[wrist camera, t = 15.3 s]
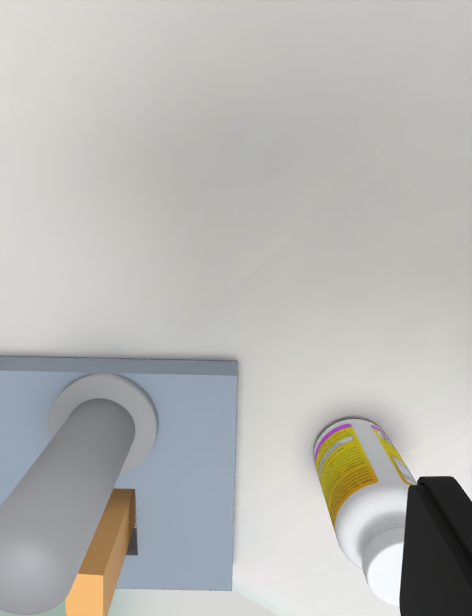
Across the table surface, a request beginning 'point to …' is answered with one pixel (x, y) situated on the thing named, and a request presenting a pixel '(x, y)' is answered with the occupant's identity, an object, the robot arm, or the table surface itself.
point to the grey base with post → (115, 472)
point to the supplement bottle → (366, 500)
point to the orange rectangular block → (104, 557)
